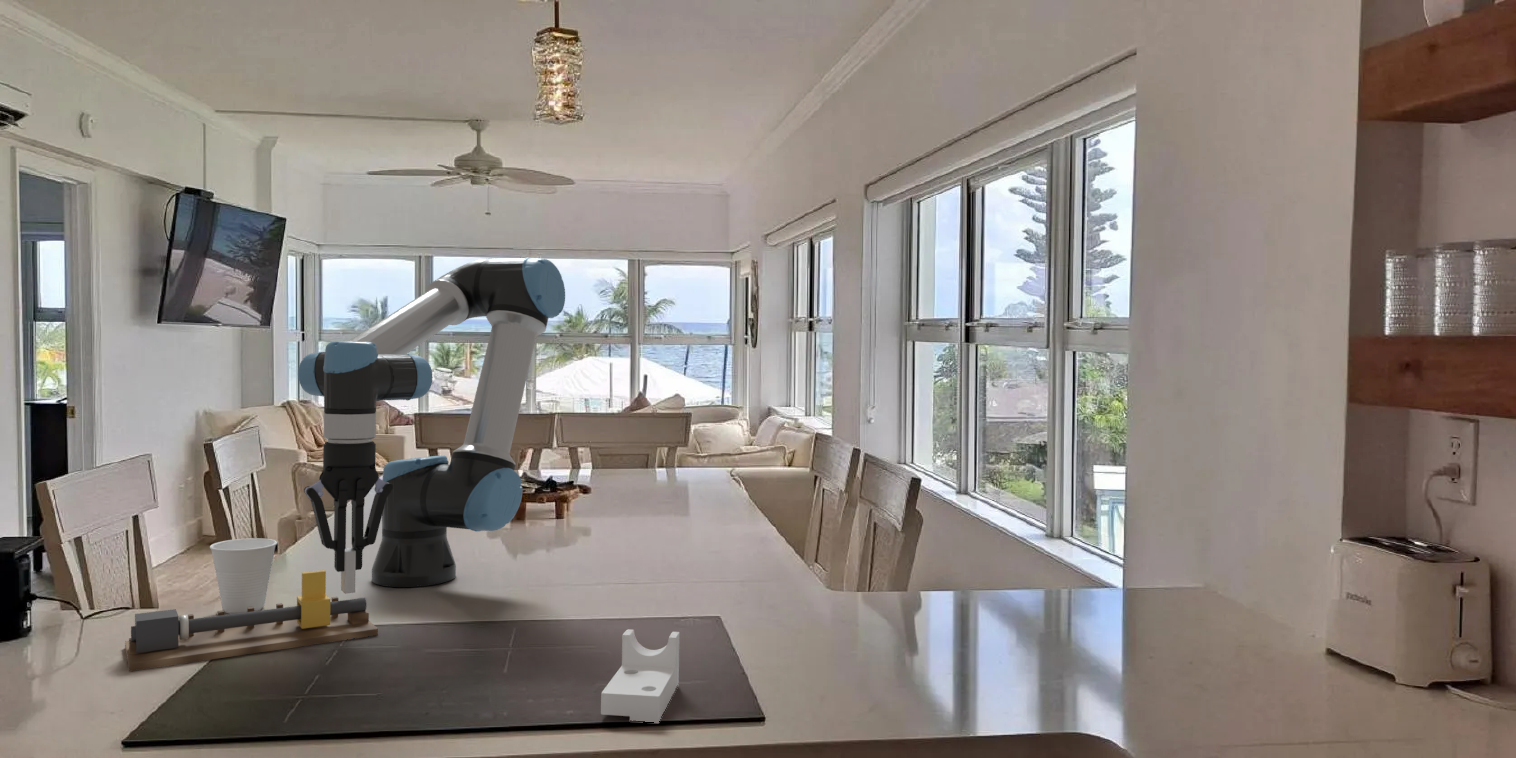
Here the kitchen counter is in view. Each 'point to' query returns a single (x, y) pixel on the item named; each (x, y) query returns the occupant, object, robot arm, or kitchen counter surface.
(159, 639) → the connector
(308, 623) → the sleeve
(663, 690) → the bracket
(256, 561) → the cup
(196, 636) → the comb board
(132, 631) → the cord
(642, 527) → the kitchen counter surface
